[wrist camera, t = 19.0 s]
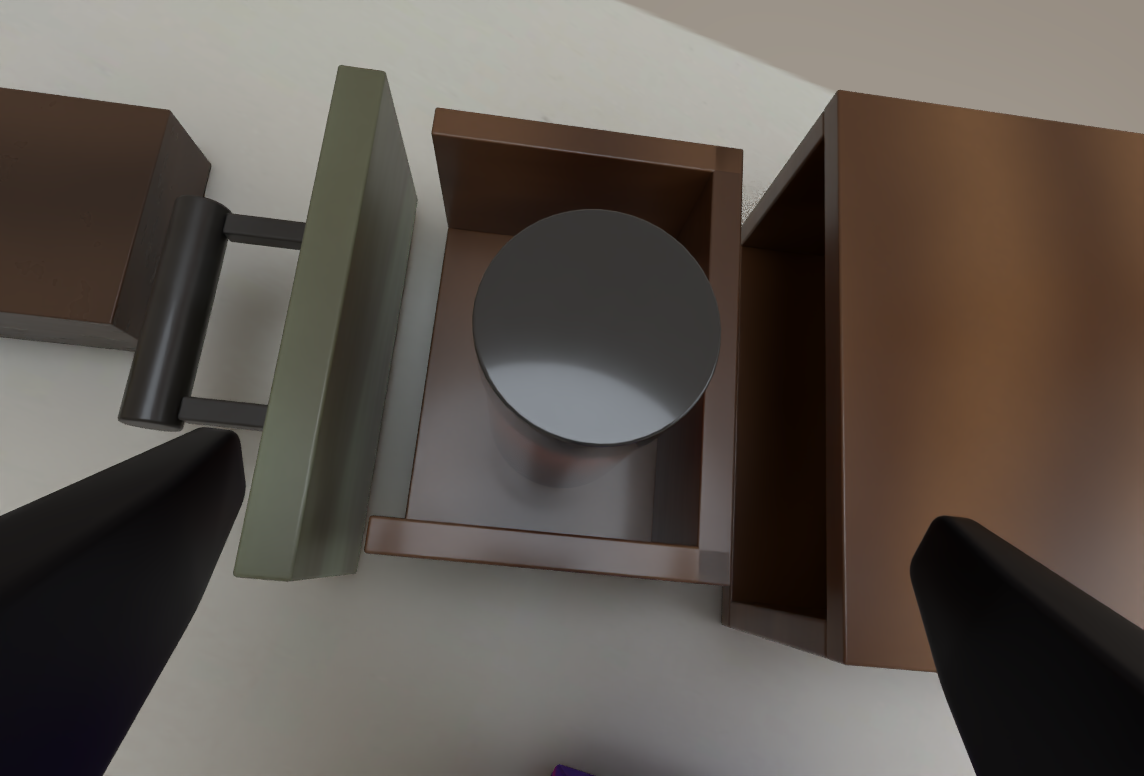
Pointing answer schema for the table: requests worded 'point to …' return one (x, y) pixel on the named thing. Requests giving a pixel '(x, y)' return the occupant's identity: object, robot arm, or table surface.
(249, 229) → the drawer
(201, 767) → the table surface
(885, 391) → the cabinet
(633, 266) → the shaker
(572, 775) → the handheld gaming console
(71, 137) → the stand
